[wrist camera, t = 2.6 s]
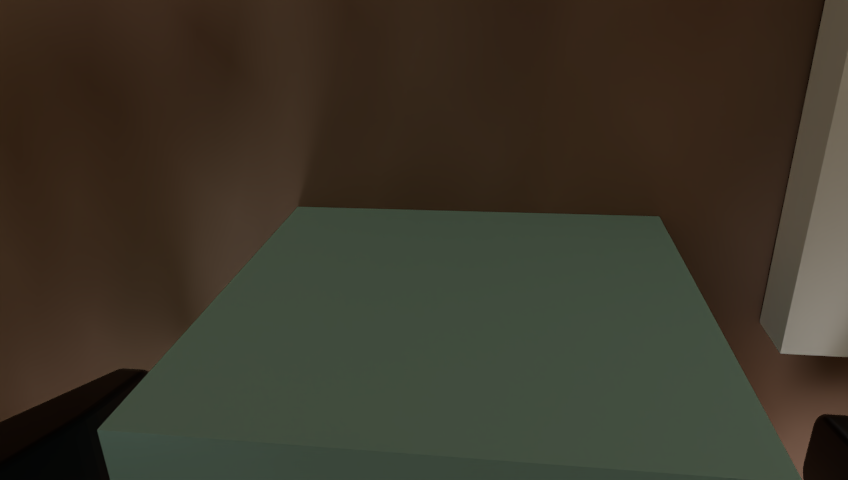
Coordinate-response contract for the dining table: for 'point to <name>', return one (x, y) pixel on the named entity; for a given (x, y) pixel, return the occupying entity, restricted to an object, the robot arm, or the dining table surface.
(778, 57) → the dining table surface
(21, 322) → the dining table surface
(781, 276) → the plate
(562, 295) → the cube
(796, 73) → the dining table surface
